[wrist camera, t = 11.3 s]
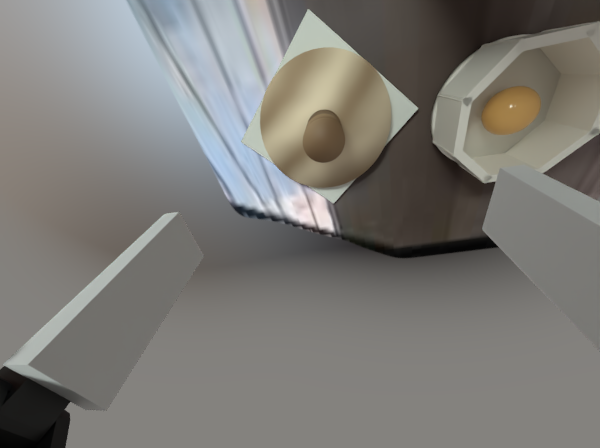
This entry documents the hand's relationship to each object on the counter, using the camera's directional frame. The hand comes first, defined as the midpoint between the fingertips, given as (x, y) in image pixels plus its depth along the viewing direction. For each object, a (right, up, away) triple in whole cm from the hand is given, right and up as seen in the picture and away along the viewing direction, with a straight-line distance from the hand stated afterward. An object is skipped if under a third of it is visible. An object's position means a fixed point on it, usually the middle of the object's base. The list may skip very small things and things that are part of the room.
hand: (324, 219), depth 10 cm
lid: (+2, +11, +17) cm, 21 cm away
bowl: (+20, +13, +15) cm, 28 cm away
